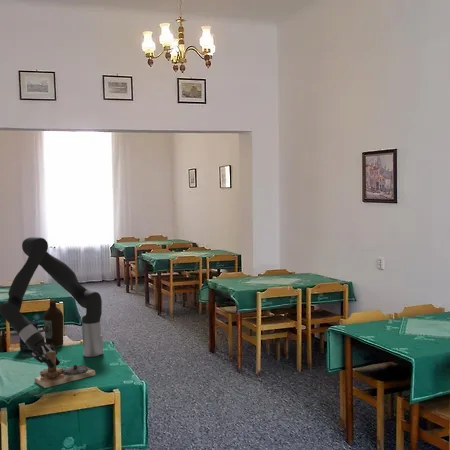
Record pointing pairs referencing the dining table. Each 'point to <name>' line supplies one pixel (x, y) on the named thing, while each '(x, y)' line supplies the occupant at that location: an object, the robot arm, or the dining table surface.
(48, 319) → the olive oil
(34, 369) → the dining table surface
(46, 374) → the walnut gear
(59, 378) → the gear board
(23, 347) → the storage jar
